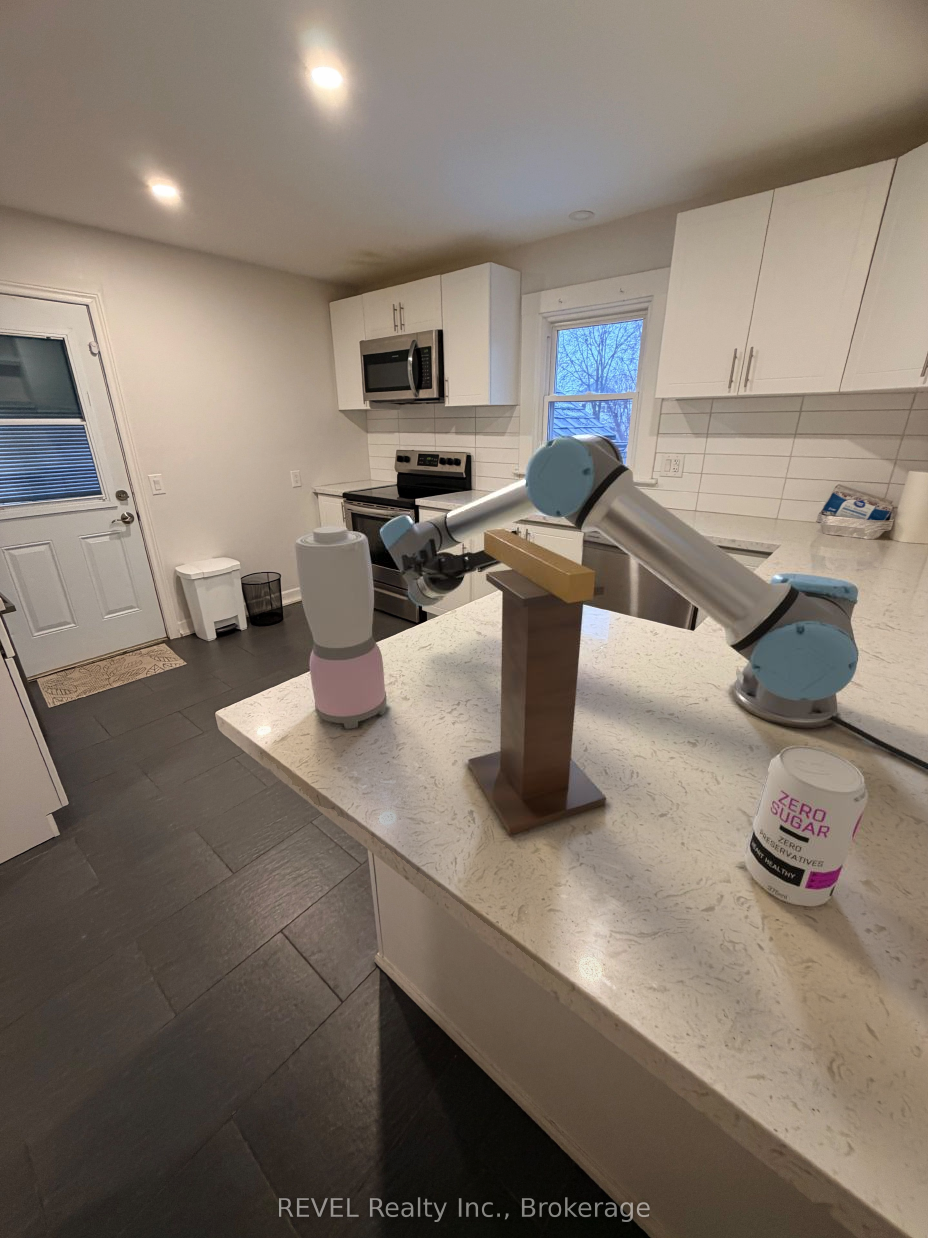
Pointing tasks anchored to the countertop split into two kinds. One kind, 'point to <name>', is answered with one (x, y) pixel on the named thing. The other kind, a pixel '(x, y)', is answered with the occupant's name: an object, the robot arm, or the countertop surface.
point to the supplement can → (805, 824)
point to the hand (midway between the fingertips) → (476, 542)
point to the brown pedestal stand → (536, 709)
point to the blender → (341, 624)
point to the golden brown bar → (541, 565)
